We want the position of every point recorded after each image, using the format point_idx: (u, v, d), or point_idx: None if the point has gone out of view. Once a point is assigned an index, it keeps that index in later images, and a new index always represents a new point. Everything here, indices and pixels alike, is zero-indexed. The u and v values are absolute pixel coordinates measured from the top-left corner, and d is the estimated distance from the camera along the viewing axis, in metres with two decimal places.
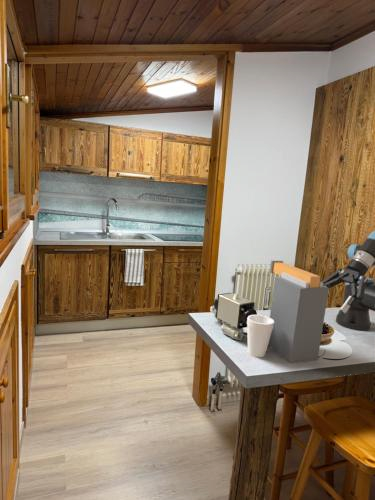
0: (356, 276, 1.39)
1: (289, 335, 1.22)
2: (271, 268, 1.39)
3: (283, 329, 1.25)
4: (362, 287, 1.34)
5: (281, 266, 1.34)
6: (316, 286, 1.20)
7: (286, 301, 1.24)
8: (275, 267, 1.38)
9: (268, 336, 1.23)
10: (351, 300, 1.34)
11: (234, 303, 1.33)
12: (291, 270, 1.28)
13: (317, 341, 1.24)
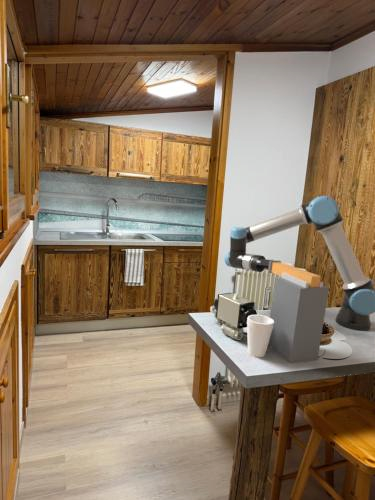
0: (261, 265, 1.52)
1: (289, 335, 1.22)
2: (269, 268, 1.39)
3: (283, 329, 1.25)
4: (264, 263, 1.47)
5: (280, 266, 1.34)
6: (316, 286, 1.20)
7: (286, 301, 1.24)
8: (273, 267, 1.38)
9: (268, 336, 1.23)
10: None
11: (234, 303, 1.33)
12: (291, 270, 1.28)
13: (317, 341, 1.24)
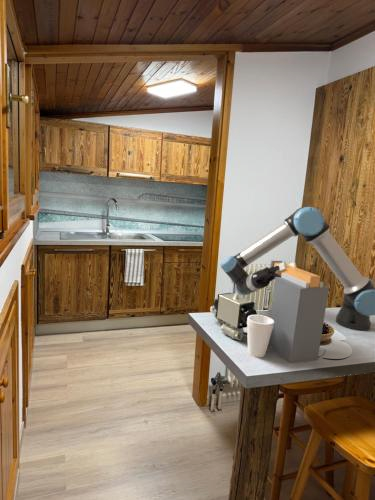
0: (260, 279, 1.46)
1: (289, 335, 1.22)
2: None
3: (283, 329, 1.25)
4: (260, 274, 1.40)
5: None
6: (315, 286, 1.20)
7: (286, 301, 1.24)
8: None
9: (268, 336, 1.23)
10: (275, 270, 1.35)
11: (234, 303, 1.33)
12: (291, 270, 1.28)
13: (317, 341, 1.24)
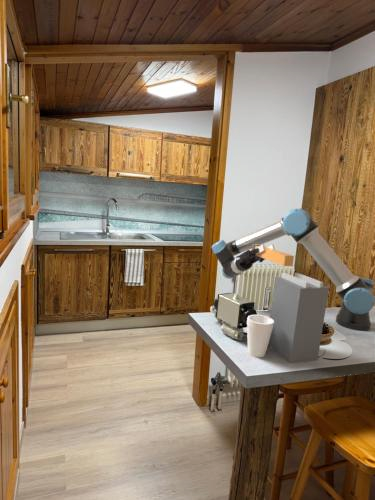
0: (242, 262, 1.59)
1: (289, 335, 1.22)
2: None
3: (283, 329, 1.25)
4: (243, 257, 1.54)
5: None
6: (290, 265, 1.33)
7: (286, 301, 1.24)
8: None
9: (268, 336, 1.23)
10: (255, 252, 1.49)
11: (234, 303, 1.33)
12: (269, 251, 1.42)
13: (317, 341, 1.24)
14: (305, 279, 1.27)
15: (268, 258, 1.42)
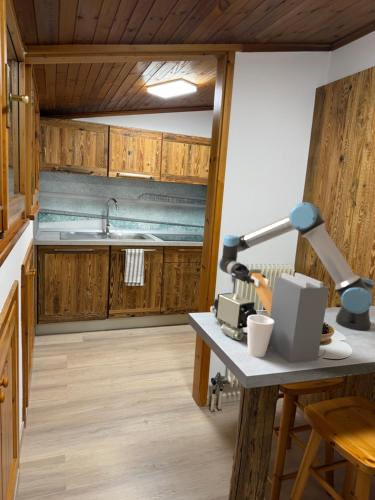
0: None
1: (289, 335, 1.22)
2: None
3: (283, 329, 1.25)
4: (238, 277, 1.57)
5: None
6: None
7: (286, 301, 1.24)
8: (251, 276, 1.54)
9: (268, 336, 1.23)
10: (250, 281, 1.52)
11: (234, 303, 1.33)
12: (262, 291, 1.46)
13: (317, 341, 1.24)
14: (305, 279, 1.27)
15: (259, 296, 1.48)
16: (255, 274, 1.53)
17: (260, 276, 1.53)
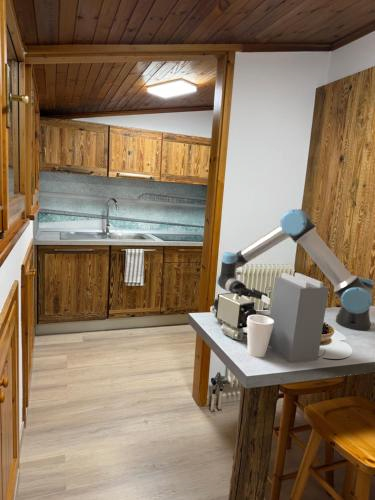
0: None
1: (289, 335, 1.22)
2: None
3: (283, 329, 1.25)
4: None
5: None
6: None
7: (286, 301, 1.24)
8: None
9: (268, 336, 1.23)
10: None
11: (234, 303, 1.33)
12: None
13: (317, 341, 1.24)
14: (305, 279, 1.27)
15: None
16: None
17: None
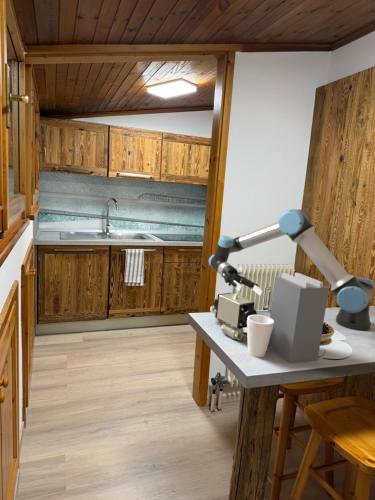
0: None
1: (289, 335, 1.22)
2: None
3: (283, 329, 1.25)
4: (224, 278, 1.68)
5: None
6: None
7: (286, 301, 1.24)
8: None
9: (268, 336, 1.23)
10: (232, 284, 1.63)
11: (234, 303, 1.33)
12: None
13: (317, 341, 1.24)
14: (305, 279, 1.27)
15: None
16: None
17: None
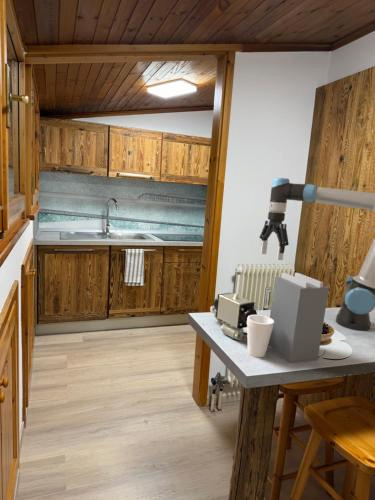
0: (277, 225, 1.59)
1: (289, 335, 1.22)
2: None
3: (283, 329, 1.25)
4: (284, 234, 1.55)
5: None
6: None
7: (286, 301, 1.24)
8: None
9: (268, 336, 1.23)
10: (281, 249, 1.56)
11: (234, 303, 1.33)
12: None
13: (317, 341, 1.24)
14: (305, 279, 1.27)
15: None
16: None
17: None
